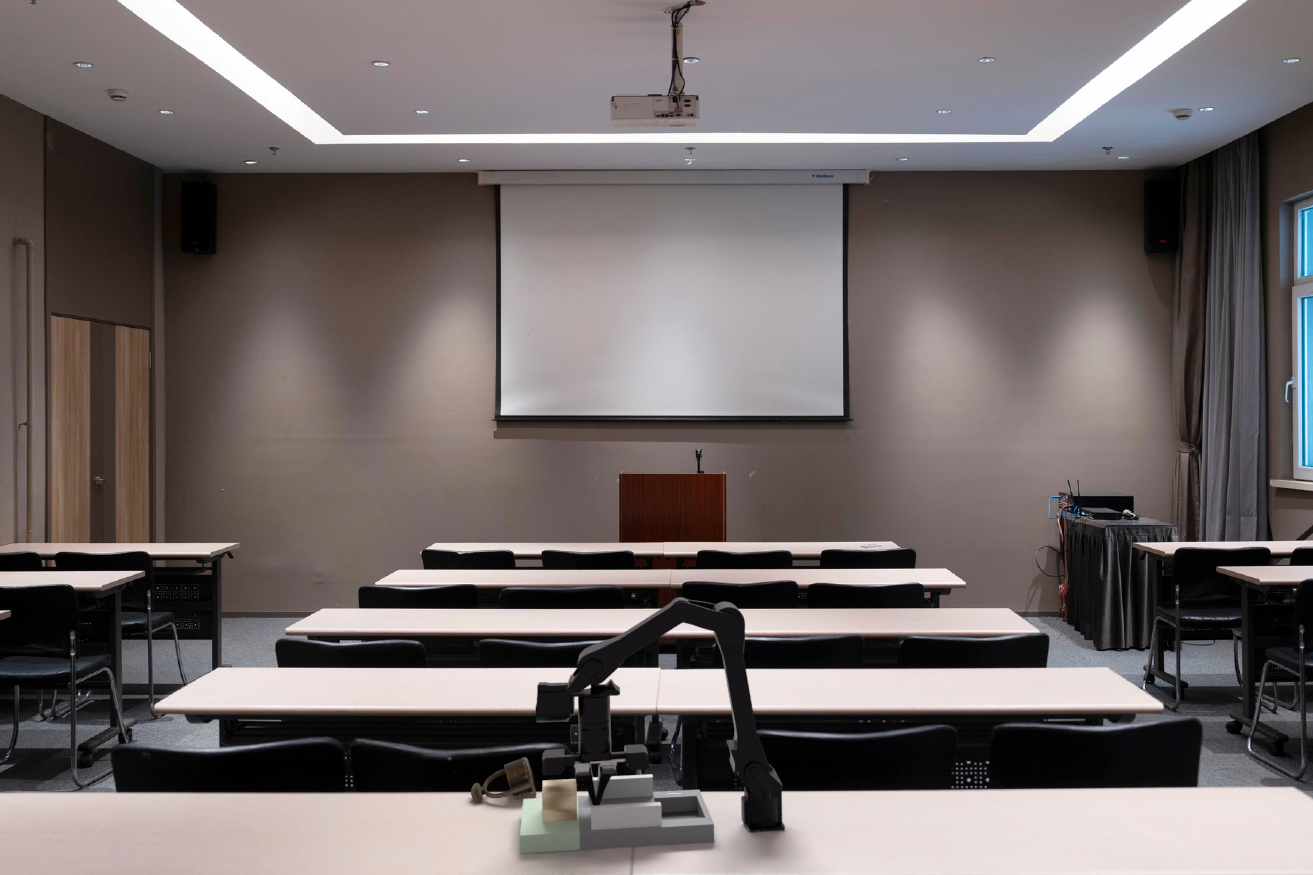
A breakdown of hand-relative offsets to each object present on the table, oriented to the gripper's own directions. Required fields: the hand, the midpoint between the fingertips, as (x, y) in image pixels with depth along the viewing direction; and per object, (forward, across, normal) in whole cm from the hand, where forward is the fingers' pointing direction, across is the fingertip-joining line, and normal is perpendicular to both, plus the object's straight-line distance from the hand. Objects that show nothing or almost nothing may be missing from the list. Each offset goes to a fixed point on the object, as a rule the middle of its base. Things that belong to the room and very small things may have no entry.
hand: (596, 807), depth 159 cm
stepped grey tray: (+4, -4, 0) cm, 5 cm away
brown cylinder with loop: (+4, +17, -19) cm, 26 cm away
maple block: (+1, +6, 0) cm, 7 cm away
